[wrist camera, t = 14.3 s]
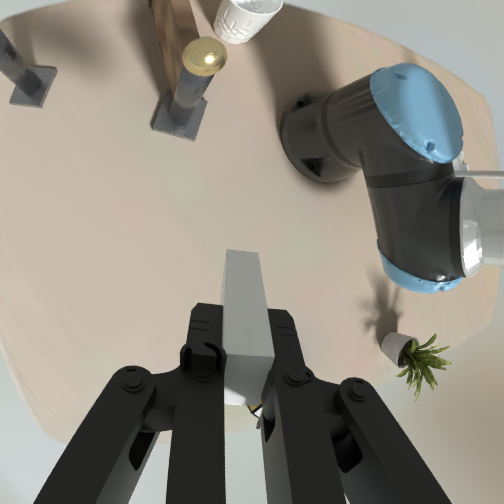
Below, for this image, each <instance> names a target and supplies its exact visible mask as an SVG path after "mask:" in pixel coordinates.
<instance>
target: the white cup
mask: <svg viewBox="0 0 504 504" xmlns="http://www.w3.org/2000/svg"><path fill="white" fill-rule="evenodd" d="M282 5H283V0H221V3H220V6H219V8H218V11H217V16H216V19H215V22H214V24H213V26H214V31H215V33H216V34H217V35H218V37H219V38H220V39H222V40H224V41H226V42H228V43H234V44H241V43H245V42H247V41H249V40H250V39H251V38H252V37H253V36H254V35H255V34H256V33H258V32H259V31H260V30H261V28H262V27H263V26H264V25H266V24H267V22H268V21H269V20H270V19H271V18H272V17H273V16H274V15H275V14H276V13H277V12H278V11H279V10H280V9H281V7H282Z"/></svg>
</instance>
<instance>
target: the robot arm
mask: <svg viewBox="0 0 504 504" xmlns="http://www.w3.org/2000/svg"><path fill="white" fill-rule="evenodd" d="M462 136H463V127H462V122H461V118H460V115H459V112H458V110H457V107H456V105H455V103H454V101H453V99H452V97H451V96H450V94H449V93H448V91H447V90H446V88H445V87H444V86H443V84H442V83H441V82H440V81H438V79H437V78H436V77H435V76H434V75H433V74H432V73H430V72H429V71H428V70H426V69H424V68H422V67H421V66H418V65H415V64H412V63H400V64H396V65H393V66H390V67H387V68H380V69H378V70H376V71H374V72H373V73H372V74H370V75H367V76H365V77H363V78H361V79H359V80H357V81H354V82H352V83H350V84H348V85H346V86H344V87H342V88H340V89H338V90H316V91H311V92H308V93H305V94H303V95H302V96H300V97H298V98H297V99H295V100H294V101H293V102H292V103H291V104H290V105H289V106H288V107H287V109H286V111H285V113H284V115H283V118H282V122H281V139H282V143H283V147H284V150H285V152H286V154H287V156H288V158H289V160H290V161H291V163H292V164H293V165H294V166H295V168H296V169H297V170H298V171H300V172H301V173H302V174H303V175H305V176H306V177H308V178H310V179H312V180H315V181H318V182H338V181H342V180H345V179H347V178H349V177H351V176H352V175H354V174H355V173H357V172H358V171H360V170H361V169H363V173H364V177H365V181H366V185H367V190H368V194H369V198H370V203H371V207H372V212H373V217H374V222H375V227H376V232H377V237H378V239H377V247H378V250H379V252H380V255H381V259H382V264H383V268H384V270H385V272H386V274H387V276H388V277H389V278H390V279H391V280H392V281H393V282H394V283H396V284H397V285H399V286H401V287H403V288H405V289H408V290H411V291H414V292H420V293H436V292H437V290H441V291H443V292H444V291H447V290H450V289H452V288H454V287H455V286H456V285H458V284H459V283H460V281H461V280H462V278H463V277H467V278H471V277H473V276H474V275H475V274H476V273H477V272H478V271H479V270H480V269H481V268H482V267H484V266H493V267H504V189H483V188H482V187H480V185H479V184H478V183H477V182H476V181H475V180H474V179H473V178H472V177H456V176H455V173H454V168H453V163H452V161H453V160H454V159H456V158H457V157H458V156H459V155H460V153H461V150H462V147H463V140H462V138H461V137H462ZM295 328H296V327H295V324H294V320H293V318H292V316H291V315H290V314H289V313H288V312H287V310H280V309H267V305H266V298H265V292H264V286H263V280H262V274H261V268H260V261H259V255H258V253H254V252H246V251H237V250H228V249H227V251H226V258H225V266H224V274H223V282H222V290H221V301H220V305H215V304H205V303H197V305H196V306H195V307H194V308H193V309H192V310H191V316H190V322H189V329H188V334H187V341H186V344H185V345H183V347H182V349H181V351H180V366H178V367H177V368H176V369H174V370H172V371H170V372H166V373H160V374H151V373H150V372H149V371H148V370H146V369H145V368H143V367H139V366H126V367H123V368H121V369H119V370H118V371H117V372H116V373H115V374H114V375H113V376H112V378H111V379H110V381H109V382H108V384H107V385H106V387H105V388H104V389H103V391H102V393H101V394H100V396H99V397H98V399H97V400H96V402H95V403H94V405H93V406H92V408H91V409H90V411H89V412H88V414H87V415H86V417H85V419H84V420H83V422H82V423H81V425H80V426H79V428H78V429H77V431H76V433H75V434H74V436H73V437H72V439H71V441H70V442H69V444H68V445H67V447H66V449H65V451H64V452H63V454H62V455H61V457H60V459H59V460H58V462H57V464H56V465H55V467H54V468H53V470H52V472H51V474H50V475H49V477H48V479H47V480H46V482H45V484H44V486H43V487H42V489H41V491H40V493H39V494H38V496H37V498H36V500H35V501H34V503H33V504H128V502H129V500H130V498H131V496H132V493H133V491H134V489H135V487H136V484H137V482H138V480H139V477H140V476H141V473H142V471H143V469H144V467H145V465H146V462H147V460H148V458H149V456H150V453H151V451H152V449H153V447H154V445H155V443H156V440H157V438H158V436H159V434H160V432H161V431H168V430H172V438H171V447H170V458H169V468H168V480H167V492H166V504H226V494H225V492H226V491H225V441H224V440H225V436H224V404H230V405H251V406H259V404H260V401H261V400H262V411H261V414H260V417H259V420H258V422H257V427H256V429H259V428H260V426H261V437H262V448H263V458H264V469H265V480H266V491H267V502H268V504H346V499H345V495H346V497H347V499H348V500H349V502H350V504H452V503H451V502H450V500H449V499H448V497H447V496H446V494H445V492H444V491H443V489H442V488H441V486H440V485H439V483H438V482H437V480H436V479H435V477H434V476H433V474H432V472H431V471H430V469H429V468H428V467H427V465H426V464H425V462H424V460H423V459H422V458H421V456H420V455H419V453H418V452H417V450H416V449H415V447H414V446H413V444H412V443H411V441H410V440H409V438H408V437H407V435H406V434H405V432H404V431H403V430H402V428H401V427H400V425H399V424H398V422H397V421H396V419H395V418H394V416H393V415H392V414H391V412H390V411H389V409H388V408H387V406H386V405H385V403H384V402H383V401H382V399H381V398H380V396H379V395H378V393H377V392H376V390H375V389H374V388H373V386H372V385H371V384H370V383H369V382H367V381H365V380H363V379H361V378H356V377H353V378H347V379H345V380H343V381H342V383H341V384H340V385H339V384H334V383H330V382H326V381H323V380H320V379H318V378H316V377H315V376H314V374H313V372H312V371H311V370H310V369H309V368H308V367H306V366H305V363H304V359H303V355H302V351H301V347H300V343H299V339H298V337H297V331H296V329H295ZM344 493H345V495H344Z"/></svg>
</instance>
